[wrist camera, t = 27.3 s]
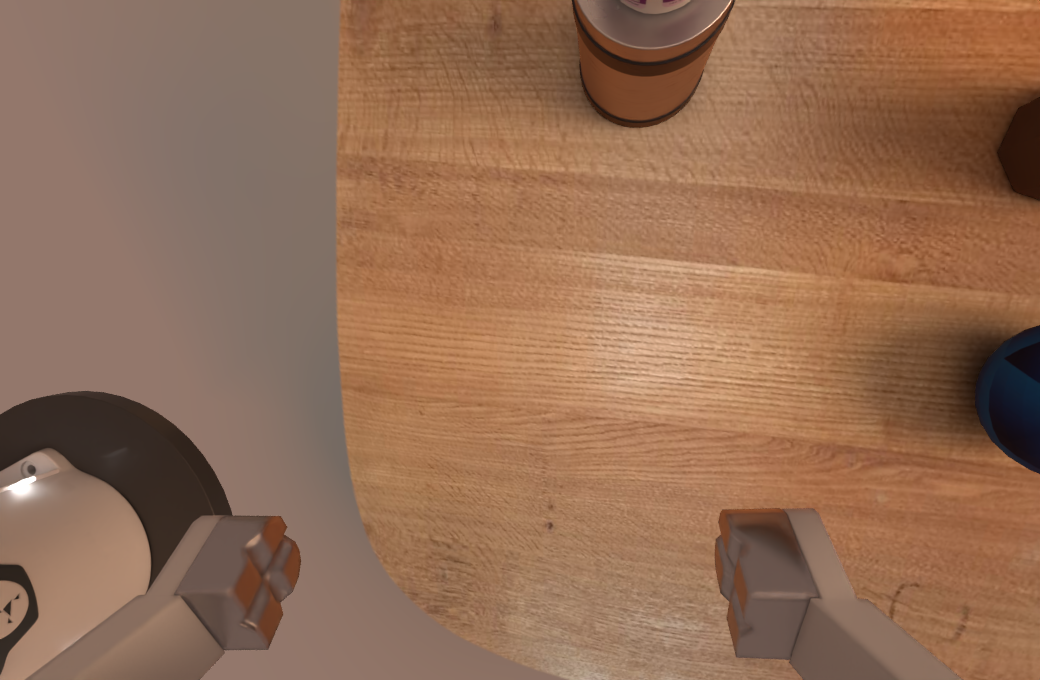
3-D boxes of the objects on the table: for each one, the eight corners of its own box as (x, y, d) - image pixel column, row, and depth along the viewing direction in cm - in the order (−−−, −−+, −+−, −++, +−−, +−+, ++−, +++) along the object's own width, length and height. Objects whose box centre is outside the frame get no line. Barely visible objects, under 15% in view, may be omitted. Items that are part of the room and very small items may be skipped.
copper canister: (598, 144, 41) (594, 76, 28) (566, 28, 41) (548, -93, 28) (716, 104, 40) (769, 15, 27) (684, -16, 39) (722, -164, 27)
